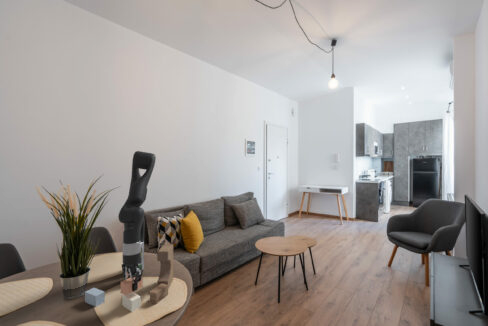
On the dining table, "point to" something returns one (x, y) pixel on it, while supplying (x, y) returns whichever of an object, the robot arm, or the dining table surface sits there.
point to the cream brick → (131, 301)
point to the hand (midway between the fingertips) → (131, 288)
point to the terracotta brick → (129, 286)
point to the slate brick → (94, 297)
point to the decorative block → (165, 264)
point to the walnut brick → (158, 293)
